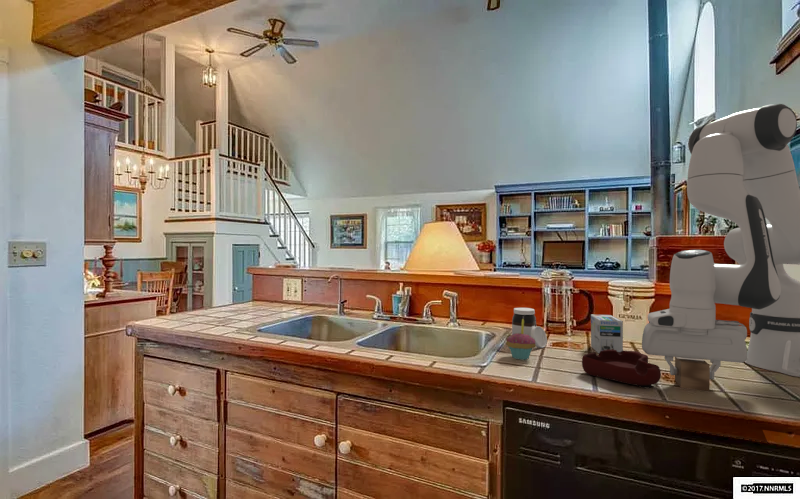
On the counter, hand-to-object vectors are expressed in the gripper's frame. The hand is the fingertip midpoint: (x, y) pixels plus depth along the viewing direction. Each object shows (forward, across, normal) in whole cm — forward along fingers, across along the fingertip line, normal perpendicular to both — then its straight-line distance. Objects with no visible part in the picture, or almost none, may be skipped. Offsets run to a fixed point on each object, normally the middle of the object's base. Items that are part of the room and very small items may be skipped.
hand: (691, 376), depth 94 cm
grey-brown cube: (+2, 0, 0) cm, 2 cm away
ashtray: (+3, +16, -1) cm, 16 cm away
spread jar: (+2, +39, -26) cm, 47 cm away
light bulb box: (+2, +16, -26) cm, 31 cm away
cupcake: (+2, +40, -9) cm, 41 cm away
